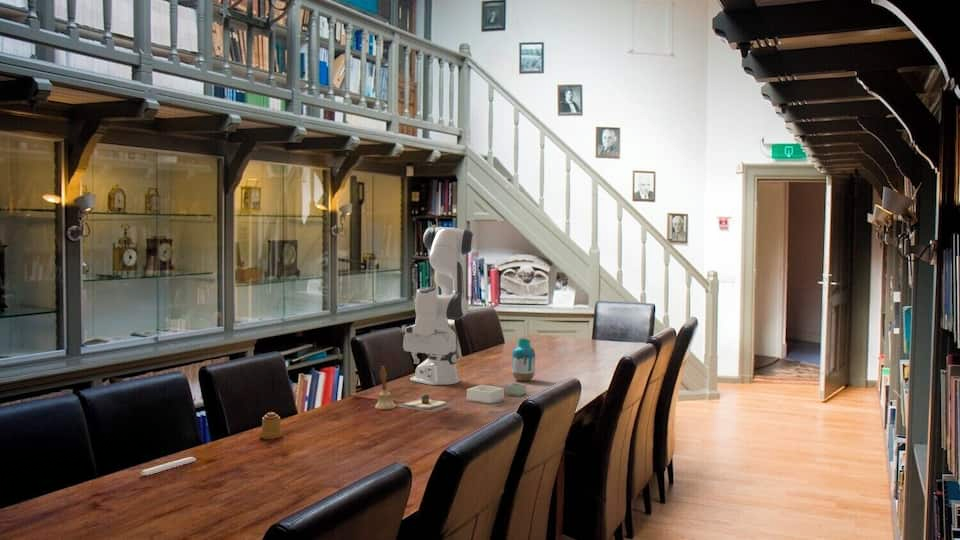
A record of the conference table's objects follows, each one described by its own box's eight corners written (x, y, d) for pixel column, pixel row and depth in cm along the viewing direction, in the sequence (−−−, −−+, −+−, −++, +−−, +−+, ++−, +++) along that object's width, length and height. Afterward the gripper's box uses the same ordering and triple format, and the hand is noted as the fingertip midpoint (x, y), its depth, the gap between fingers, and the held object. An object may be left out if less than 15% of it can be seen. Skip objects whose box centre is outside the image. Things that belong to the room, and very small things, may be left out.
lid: (403, 405, 314) (403, 395, 314) (421, 400, 324) (422, 390, 324) (428, 409, 308) (428, 399, 307) (446, 404, 318) (446, 394, 318)
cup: (506, 394, 339) (506, 385, 339) (513, 392, 344) (513, 383, 344) (518, 396, 336) (518, 387, 336) (525, 394, 341) (525, 384, 341)
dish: (466, 401, 325) (466, 389, 325) (481, 396, 335) (481, 384, 334) (489, 405, 320) (490, 392, 319) (504, 400, 329) (504, 387, 329)
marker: (193, 461, 240) (193, 453, 240) (198, 462, 239) (198, 455, 239) (140, 477, 225) (139, 469, 225) (144, 478, 224) (144, 470, 224)
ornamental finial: (283, 439, 265) (259, 440, 263) (282, 433, 273) (259, 434, 271) (283, 415, 265) (259, 416, 263) (282, 410, 272) (259, 411, 270)
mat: (394, 406, 314) (394, 405, 314) (418, 399, 327) (418, 398, 327) (432, 413, 304) (432, 411, 304) (455, 405, 318) (455, 404, 318)
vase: (535, 383, 365) (536, 341, 364) (511, 382, 365) (512, 340, 364) (534, 378, 376) (535, 337, 374) (511, 378, 376) (512, 337, 375)
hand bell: (392, 409, 308) (390, 368, 306) (371, 409, 309) (369, 368, 308) (399, 404, 316) (396, 364, 314) (378, 404, 317) (376, 364, 316)
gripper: (453, 330, 311) (453, 365, 312) (410, 326, 322) (410, 361, 323) (444, 331, 306) (444, 368, 307) (400, 328, 317) (400, 363, 317)
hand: (426, 364), depth 315 cm, fingers open, 8 cm apart
